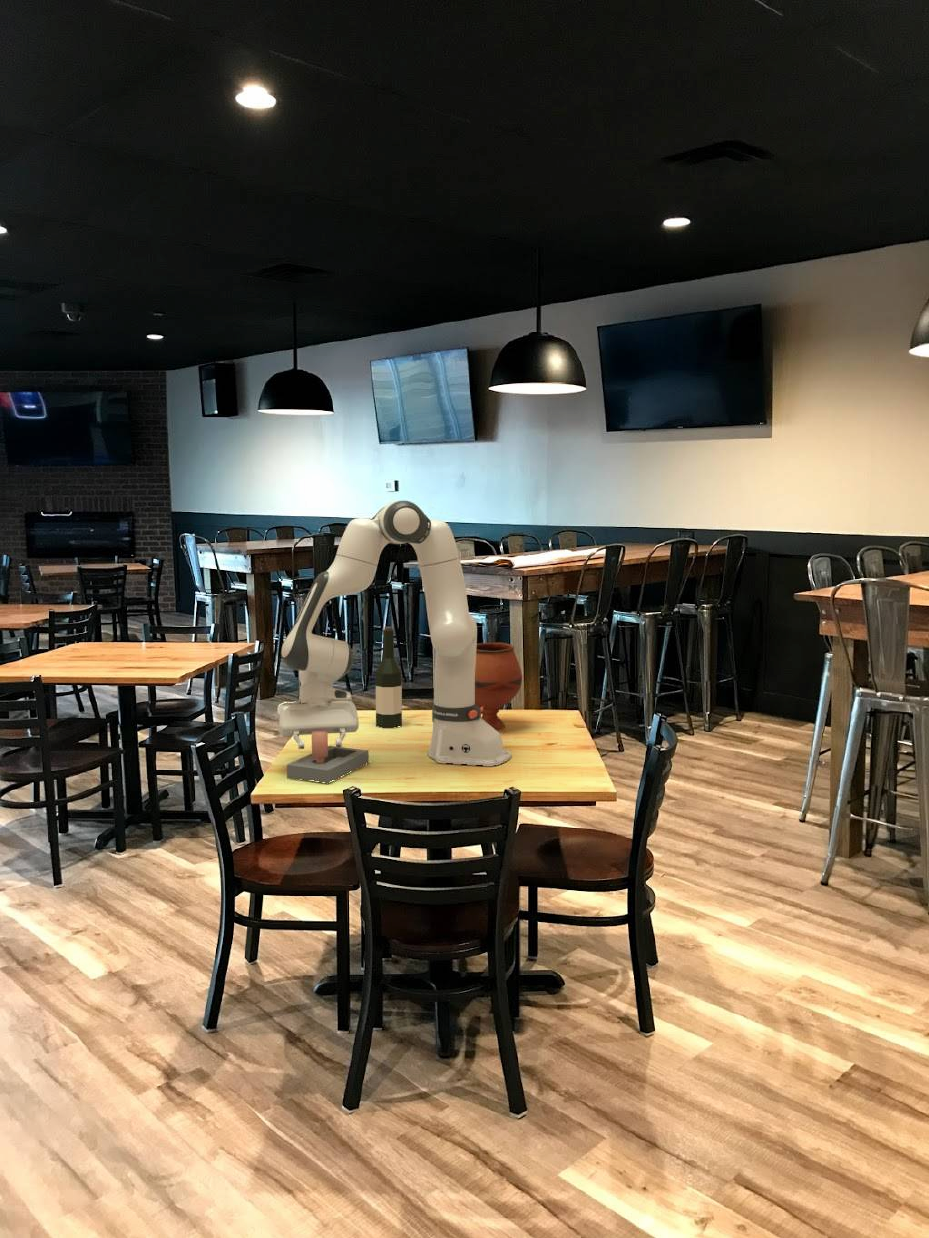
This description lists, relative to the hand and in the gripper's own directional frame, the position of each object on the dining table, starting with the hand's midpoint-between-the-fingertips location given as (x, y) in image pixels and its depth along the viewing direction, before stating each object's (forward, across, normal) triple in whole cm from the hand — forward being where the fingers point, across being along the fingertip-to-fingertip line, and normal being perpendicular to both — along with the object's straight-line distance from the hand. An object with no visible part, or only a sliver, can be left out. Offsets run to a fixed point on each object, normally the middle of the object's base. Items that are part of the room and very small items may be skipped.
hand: (320, 746), depth 254 cm
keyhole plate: (+3, +2, +7) cm, 8 cm away
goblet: (-23, +52, +34) cm, 66 cm away
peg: (+5, 0, +5) cm, 7 cm away
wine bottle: (-29, +23, +40) cm, 54 cm away
